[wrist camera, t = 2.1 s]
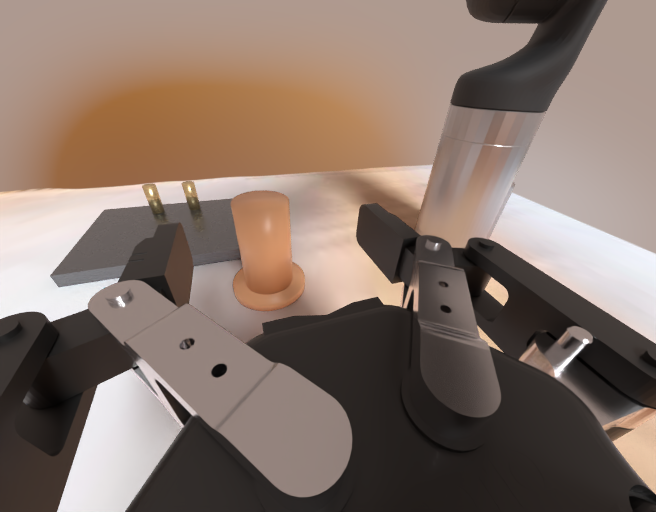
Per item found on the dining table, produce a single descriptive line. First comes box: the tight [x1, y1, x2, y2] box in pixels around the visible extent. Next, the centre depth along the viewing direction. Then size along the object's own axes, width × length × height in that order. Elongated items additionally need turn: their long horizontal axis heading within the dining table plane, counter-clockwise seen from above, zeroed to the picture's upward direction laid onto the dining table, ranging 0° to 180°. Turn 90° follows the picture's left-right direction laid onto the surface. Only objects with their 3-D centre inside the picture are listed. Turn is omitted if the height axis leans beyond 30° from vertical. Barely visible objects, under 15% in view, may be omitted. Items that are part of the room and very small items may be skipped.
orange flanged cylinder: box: [231, 191, 305, 311], centre depth 25 cm, size 8×8×10 cm
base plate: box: [50, 181, 241, 287], centre depth 34 cm, size 20×16×6 cm
